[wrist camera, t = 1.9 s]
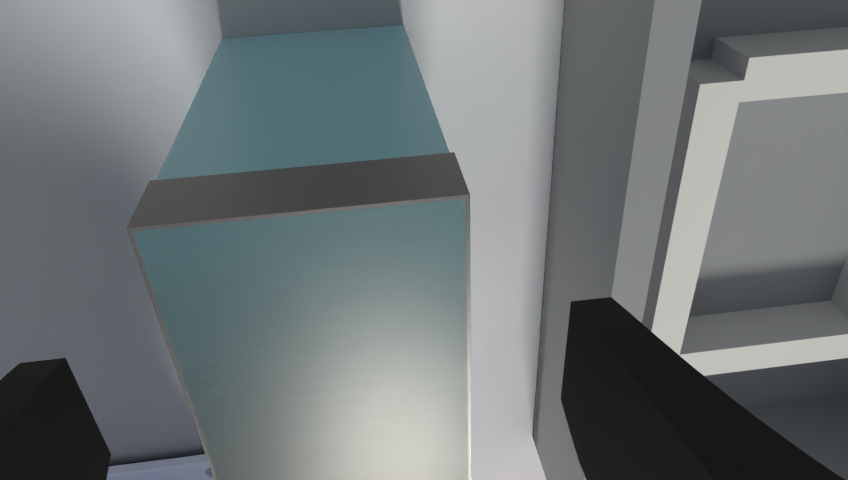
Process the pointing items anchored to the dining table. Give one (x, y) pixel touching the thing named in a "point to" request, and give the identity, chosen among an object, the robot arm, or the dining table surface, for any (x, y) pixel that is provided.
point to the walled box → (706, 203)
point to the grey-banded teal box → (315, 263)
